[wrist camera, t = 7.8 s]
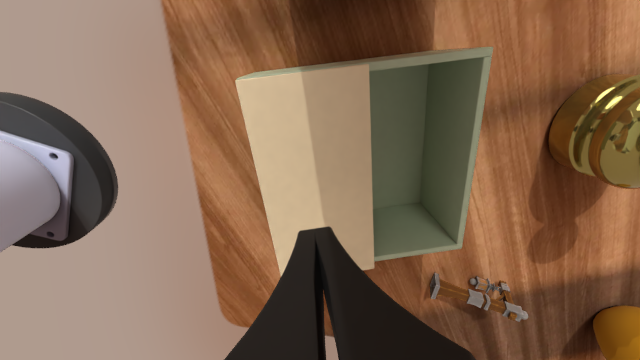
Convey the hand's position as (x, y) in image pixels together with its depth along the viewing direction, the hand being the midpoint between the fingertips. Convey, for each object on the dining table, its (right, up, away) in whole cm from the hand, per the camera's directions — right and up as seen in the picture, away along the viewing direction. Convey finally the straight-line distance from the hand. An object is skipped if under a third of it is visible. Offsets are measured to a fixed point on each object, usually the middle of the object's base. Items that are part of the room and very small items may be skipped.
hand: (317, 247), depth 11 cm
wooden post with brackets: (+15, -7, +16) cm, 23 cm away
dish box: (+2, +5, +9) cm, 10 cm away
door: (0, +2, +3) cm, 4 cm away
